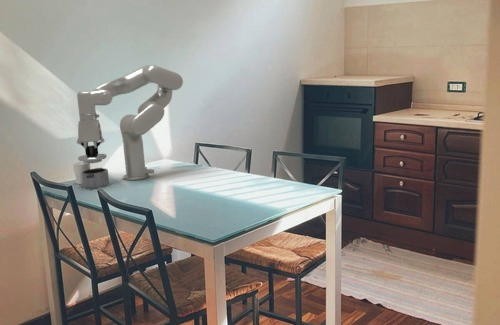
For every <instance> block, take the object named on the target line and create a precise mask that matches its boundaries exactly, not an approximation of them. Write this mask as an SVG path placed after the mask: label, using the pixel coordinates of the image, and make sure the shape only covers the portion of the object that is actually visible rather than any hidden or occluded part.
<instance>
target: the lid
mask: <svg viewBox="0 0 500 325" xmlns="http://www.w3.org/2000/svg"><path fill="white" fill-rule="evenodd" d="M93 148H94V144H93V145H88V150H89V157H87V155H86V154H83V155H80V156H78V157H77V159H78V162H81V161H84V163H90V164H97V163H101V162H103V160H105V159H107V154H106V153H98V154H97V156H94V150H93Z"/></svg>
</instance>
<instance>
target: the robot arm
mask: <svg viewBox="0 0 500 325" xmlns="http://www.w3.org/2000/svg"><path fill="white" fill-rule="evenodd" d="M151 83H152V84H155V85H157V88H156V89H157V90H156V91H155V93H154V94H153V95H151V96H150V97H149V98H147V100H146V101H144V102H142V103H141V104H140V106H139V107H138V109H137V115H136V114H125V115H124V116H122V118H121V119H120V122H119V129H120V133H121V136H122V137H121V138H122V143H123V153H124V154H123V155H124V165H125V174H124V175H123V177H122V178H123V179H124V181H139V180H145V179H147V178H149V177H150V174H155V169H152V168H151V169H148V167H147V166H146V164H145V163H146V162H145V151H144V141H143V137H142V136H143V135H145V134H147V133H148V132H149V131H150V130H151V129H153V128H154V127H155V126H156V125H157V124H158V123H160V122H161V121H162V119H163V118H164V116H165V108H166V107H167V106H169V104H170V103H171V101H172V98H173V91H177V90H179V89H181V88H182V86H183V84H184V80H183V77H182V76H181V75H180V74H179V73H177V72H175V71H172V70H170V69H166V68H163V67H161V66H158V65H155V64H154V65H153V64H151V65H150V64H148V65H143V66H141V67H139V68H137V69H135V70H133V71H131V72H129V73H126V74H125V75H123V76H121V77H118V78H116V79H113V80H111V81H109V82H106V83H104V84H102V85H100V86H98V87H96V88H94V89H92V90H82V91H81V90H80V91H77V93H76V99H77V107H78V114H79V120H78V124H77V125H78V126H77V130H78V131H77V134H78V136H77V141H76V144H78V145H81V146H82V147H83V148H84V149H85V150H84V151H85V155H87V157H89V150H88V146H89V143H90V142H92V143H93V145H94V148H93V150H94V156H97V154H99V146H100V145H101V144H103V143H104V142H105V139H104V137H103V134H102V133H103V132H102V128H101V124H100V120H99V119H98V118H100V114H97V112H96V111H97V110H96V106H107V105H110V104H111V103H112V101H113V98H115V97H117V96H121V95H126V94H131V93H134V92H135V91H136V90H139V89H141V88H142V87H145V86H146V85H149V84H151Z"/></svg>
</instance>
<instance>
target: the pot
mask: <svg viewBox="0 0 500 325" xmlns="http://www.w3.org/2000/svg"><path fill="white" fill-rule="evenodd" d="M81 178H82V184H81V185H82V188H83V189H92V190H93V189H99V188H104V187H107V186H109V185H110V176H109V170H108V168H105V167H95V168H90V169H88V170H85V171H82V172H81Z"/></svg>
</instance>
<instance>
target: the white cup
mask: <svg viewBox="0 0 500 325" xmlns="http://www.w3.org/2000/svg"><path fill="white" fill-rule="evenodd" d="M72 166H73V170H74V171H73V172H74V176H75V181H76V184H77V185H82V178H81V172H82V171H85V170H88V169H91V163H84V161H75V162H74V163H72Z"/></svg>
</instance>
